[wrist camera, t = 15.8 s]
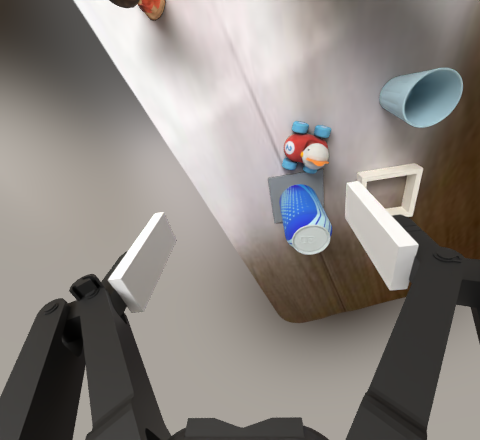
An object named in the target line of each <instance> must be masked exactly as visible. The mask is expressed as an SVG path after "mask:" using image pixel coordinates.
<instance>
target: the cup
mask: <svg viewBox="0 0 480 440" xmlns="http://www.w3.org/2000/svg"><path fill="white" fill-rule="evenodd" d="M462 91H463V81H462V78H461V76H460V74H459V73H458V72H457V71H455V70H453V69H451V68H438V69H433V70H428V71H422V72H417V73H412V74H407V75H402V76H397V77H395V78H393V79H391V80H389V81H388V82H387V83H386V84H385V85H384V87H383V88H382V90H381V93H380V98H379V101H380V104H381V106H382V107H383V108H384V109H385V110H387V111H389V112H390V113H392V114H394V115H395V116H397V117H398V118H400V119H402V120H403V121H404V122H406V123H408V124H409V125H411V126H413V127H417V128H425V127H429V126H432V125H435V124H437V123H439V122H440V121H442V120H443V119H444V118H446V117H447V116H448V115H449V114H450V113H451V112H452V111H453V110H454V108H455V107H456V105H457V104H458V102H459V100H460V98H461V95H462Z"/></svg>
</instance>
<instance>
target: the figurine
mask: <svg viewBox="0 0 480 440" xmlns="http://www.w3.org/2000/svg"><path fill="white" fill-rule="evenodd" d="M109 1H111V2H112V3H114V4H115V5H117V6H119V7H123V8H132V7H134V6H136V5H137V4H138V6H139V8H140V9H141V10H142V11H143V12H144V13H145V14H146V15H147V16H148V17H149V18H150V20H152V21H154V20H156V19H159V18H160V17H161V15H162V13H163V10H164V7H165V2H166V1H165V0H109Z"/></svg>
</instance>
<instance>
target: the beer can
mask: <svg viewBox="0 0 480 440" xmlns="http://www.w3.org/2000/svg"><path fill="white" fill-rule="evenodd" d="M279 203H280V209H281V215H282V220H283V226H284V231H285V236H286V240H287V242H288V243H289V244H290V245H291V246H292V247H294V249H295V250H296V251H298V252H299V253H302V254H306V255H312V254H317V253H319V252H321V251H323V250H324V249H325V248H326V247H327V246H328V245H329V242H330V237H331V234H332V226H331V223H330V221H329V219H328V217H327V215H326V213H325V211H324V209H323V207H322V205H321V203H320V201H319V199H318V197H317V195H316V193H315V191H314V190H313V189H312V188H311V187H309V186H307V185H304V184H296V185H293V186H290V187H288V188H287V189H286V190H285V191H284V192H283V193H282V195H281V197H280V201H279Z"/></svg>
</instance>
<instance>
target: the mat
mask: <svg viewBox="0 0 480 440" xmlns="http://www.w3.org/2000/svg"><path fill="white" fill-rule="evenodd" d="M268 183H269V190H270V196H271V203H272V210H273V216H274V223H278V222H283V220H282V215H281V209H280V203H279V201H280V197H281V195H282V193H283V192H284V191H285V190H286V189H287V188H288V187H290V186H293V185H296V184H304V185H307V186H309V187H311V188H312V189H313V190H314V191H315V193H316V195H317V197H318V199H319V201H320V203H321V205H322V207H323V209H324V191H323V169H318V170H317V172H316V173H314V174H310V173H307V172H300V173H295V174H289V175H283V176H277V177H271V178H268Z"/></svg>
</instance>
